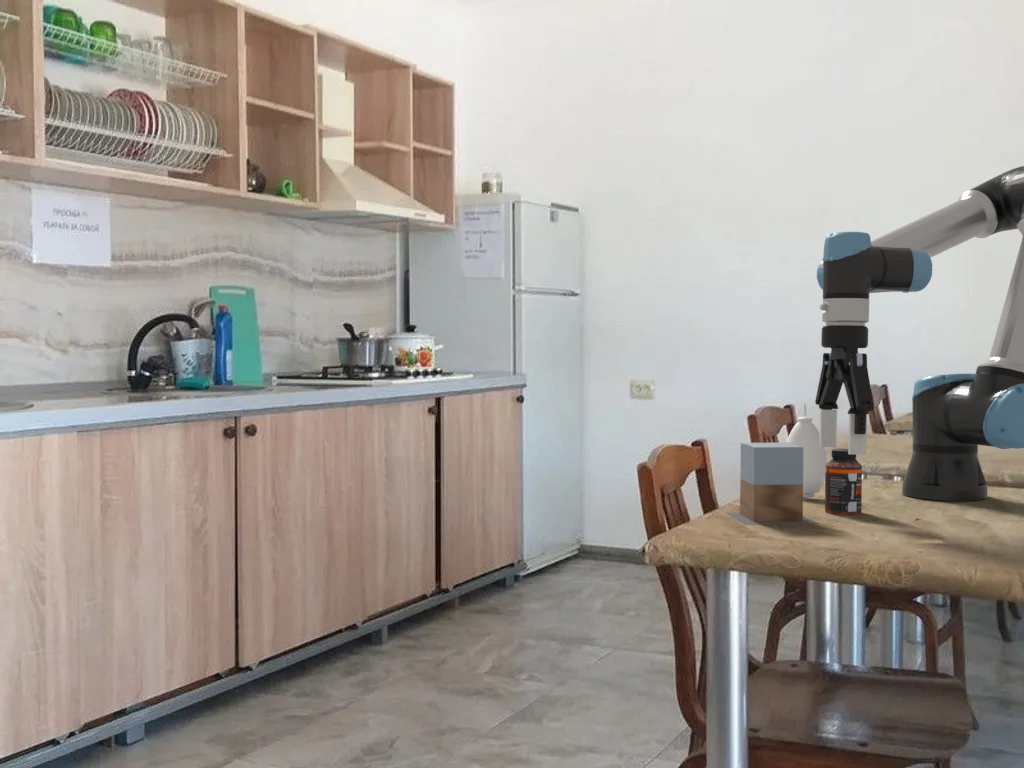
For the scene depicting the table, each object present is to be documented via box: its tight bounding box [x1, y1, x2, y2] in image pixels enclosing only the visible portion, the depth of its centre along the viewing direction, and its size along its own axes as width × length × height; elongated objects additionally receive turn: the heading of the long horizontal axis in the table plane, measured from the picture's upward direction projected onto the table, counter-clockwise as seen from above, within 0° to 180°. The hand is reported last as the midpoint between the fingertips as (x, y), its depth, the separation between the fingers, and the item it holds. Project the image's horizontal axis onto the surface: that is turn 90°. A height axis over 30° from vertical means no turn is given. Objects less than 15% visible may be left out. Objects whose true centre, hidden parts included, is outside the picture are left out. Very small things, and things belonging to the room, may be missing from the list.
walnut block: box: [739, 479, 804, 522], centre depth 178 cm, size 8×8×6 cm
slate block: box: [740, 442, 803, 485], centre depth 178 cm, size 8×8×6 cm
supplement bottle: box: [824, 448, 863, 516], centre depth 184 cm, size 6×6×11 cm
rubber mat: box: [725, 511, 820, 526], centre depth 178 cm, size 12×12×1 cm
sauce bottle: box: [785, 403, 828, 501], centre depth 204 cm, size 8×8×18 cm
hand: (841, 450), depth 184 cm, fingers open, 13 cm apart
